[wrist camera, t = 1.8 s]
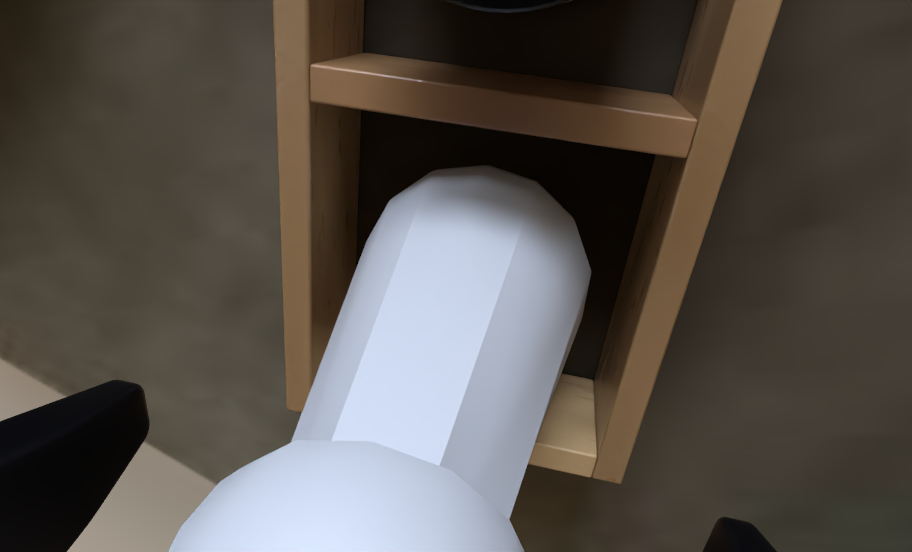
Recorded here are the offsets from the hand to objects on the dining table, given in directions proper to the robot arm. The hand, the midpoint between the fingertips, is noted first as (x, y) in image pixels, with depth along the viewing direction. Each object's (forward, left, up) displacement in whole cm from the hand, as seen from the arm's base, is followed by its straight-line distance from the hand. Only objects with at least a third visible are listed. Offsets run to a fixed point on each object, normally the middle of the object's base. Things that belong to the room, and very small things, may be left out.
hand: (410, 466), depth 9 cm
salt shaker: (0, 0, -9) cm, 9 cm away
